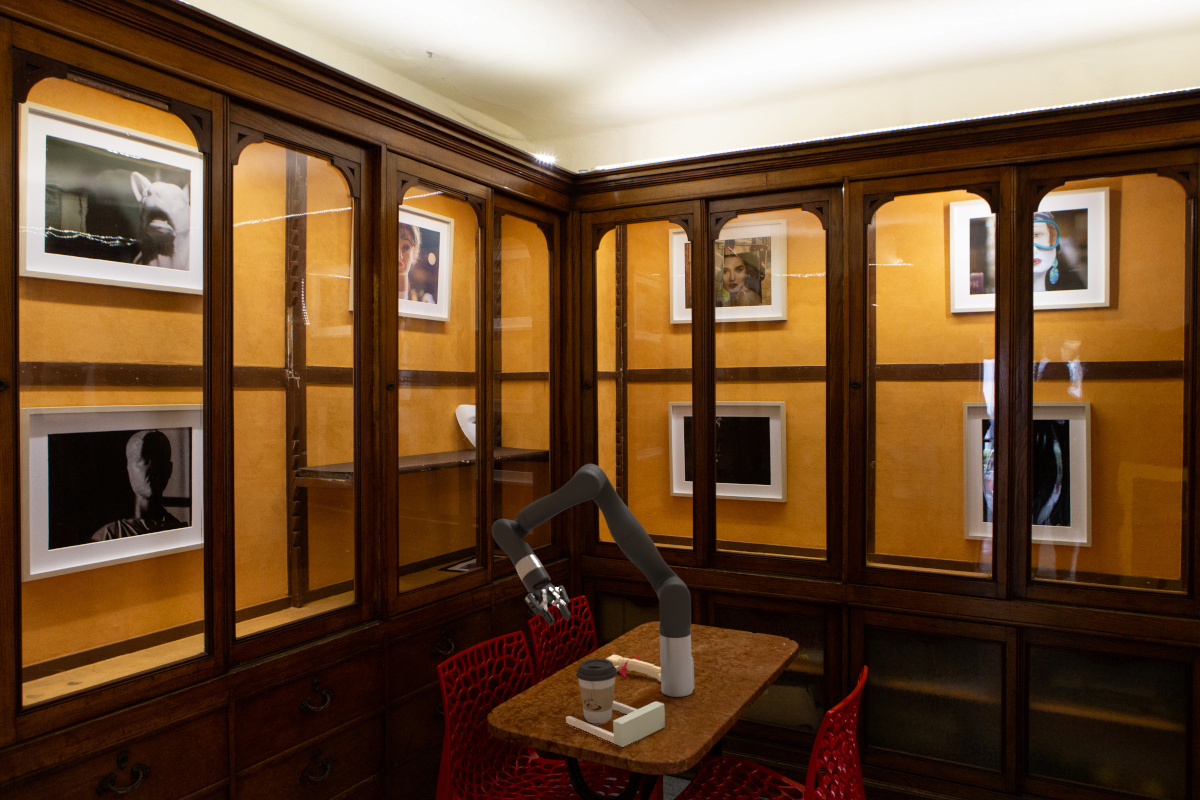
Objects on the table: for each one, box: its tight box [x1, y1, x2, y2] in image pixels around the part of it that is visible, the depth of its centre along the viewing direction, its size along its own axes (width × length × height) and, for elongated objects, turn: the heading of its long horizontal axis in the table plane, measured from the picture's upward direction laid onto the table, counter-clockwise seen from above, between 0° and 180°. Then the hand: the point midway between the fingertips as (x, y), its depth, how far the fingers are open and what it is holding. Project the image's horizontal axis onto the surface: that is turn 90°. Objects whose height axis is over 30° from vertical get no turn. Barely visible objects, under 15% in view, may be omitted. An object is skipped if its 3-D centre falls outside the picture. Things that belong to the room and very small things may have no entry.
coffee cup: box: [575, 658, 618, 724], centre depth 207 cm, size 11×11×15 cm
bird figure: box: [605, 654, 661, 682], centre depth 238 cm, size 10×9×25 cm
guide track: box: [565, 700, 666, 748], centre depth 202 cm, size 16×21×6 cm
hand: (560, 621), depth 217 cm, fingers open, 5 cm apart
